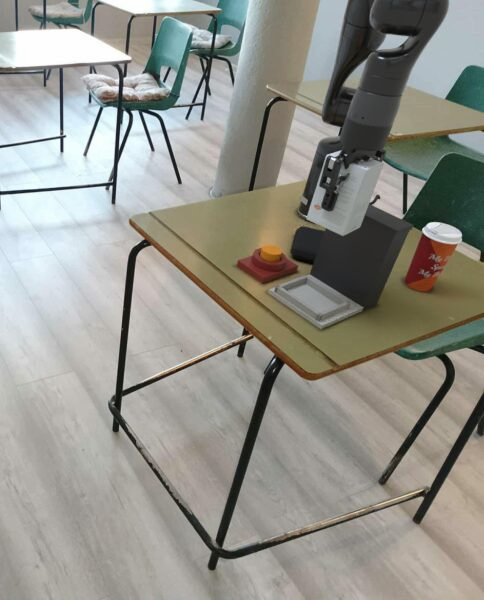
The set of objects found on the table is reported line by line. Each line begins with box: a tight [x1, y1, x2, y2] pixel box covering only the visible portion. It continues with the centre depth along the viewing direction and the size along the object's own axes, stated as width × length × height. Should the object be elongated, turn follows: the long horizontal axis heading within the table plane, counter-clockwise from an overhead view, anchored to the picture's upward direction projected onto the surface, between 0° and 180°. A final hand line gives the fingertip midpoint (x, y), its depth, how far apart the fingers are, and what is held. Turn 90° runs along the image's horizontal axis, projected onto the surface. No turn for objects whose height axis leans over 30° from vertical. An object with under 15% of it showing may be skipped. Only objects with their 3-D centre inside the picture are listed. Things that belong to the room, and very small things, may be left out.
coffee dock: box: [267, 204, 414, 330], centre depth 115 cm, size 18×14×19 cm
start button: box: [260, 244, 283, 262], centre depth 126 cm, size 4×4×2 cm
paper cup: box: [404, 221, 463, 293], centre depth 123 cm, size 8×8×14 cm
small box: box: [305, 151, 385, 236], centre depth 105 cm, size 8×6×13 cm
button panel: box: [236, 247, 299, 285], centre depth 128 cm, size 11×8×4 cm
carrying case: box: [289, 225, 325, 264], centre depth 136 cm, size 11×3×15 cm
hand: (339, 205), depth 106 cm, fingers closed on small box, 6 cm apart
